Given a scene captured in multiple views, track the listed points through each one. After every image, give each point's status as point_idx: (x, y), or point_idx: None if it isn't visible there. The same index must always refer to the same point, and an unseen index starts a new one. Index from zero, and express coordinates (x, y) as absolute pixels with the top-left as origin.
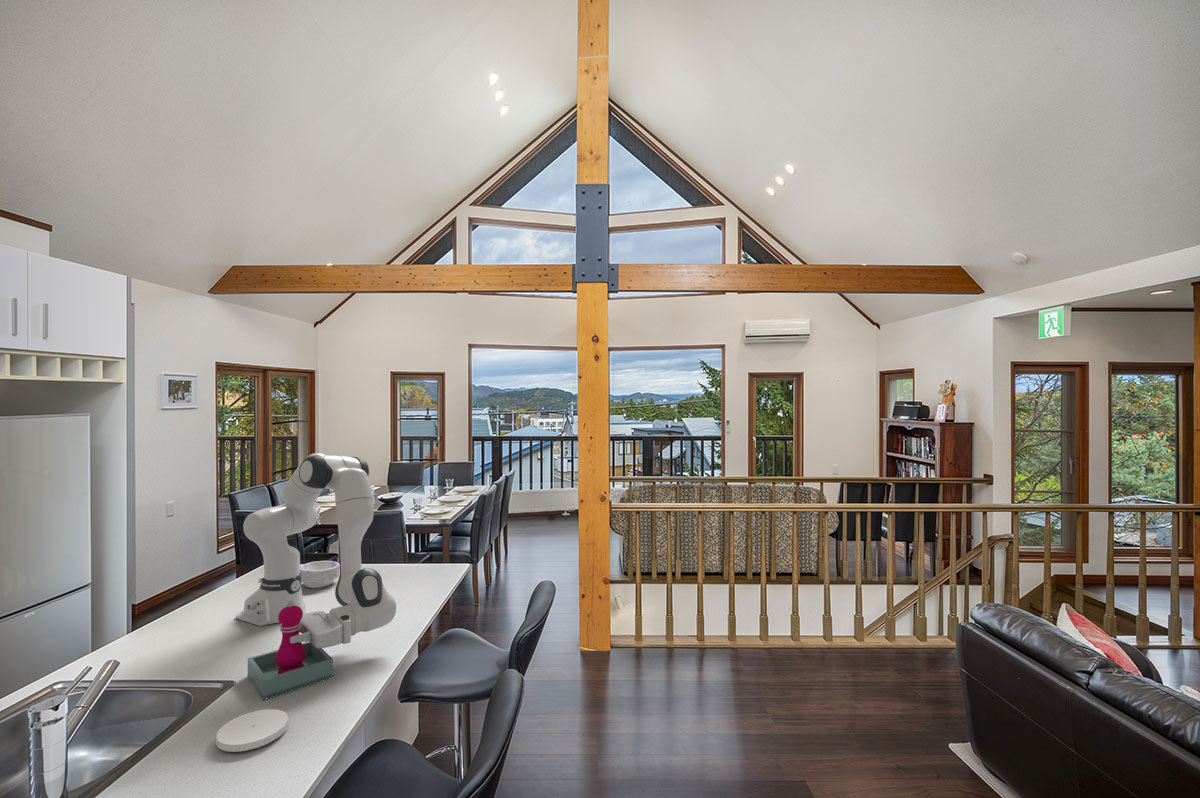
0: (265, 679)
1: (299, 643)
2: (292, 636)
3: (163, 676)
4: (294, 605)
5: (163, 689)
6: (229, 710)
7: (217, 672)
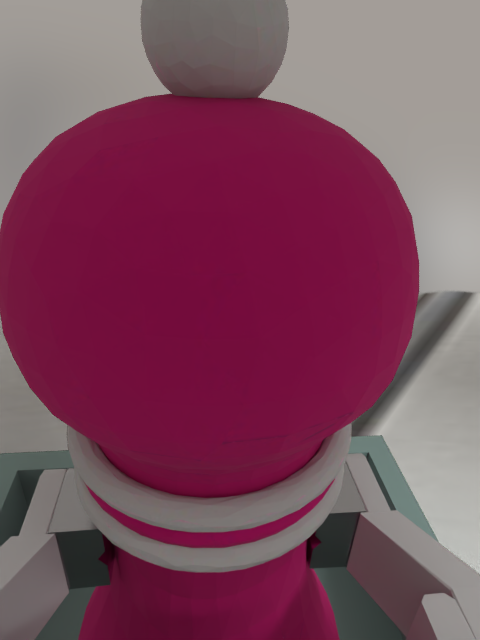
0: (1, 463)
1: None
2: (51, 478)
3: (469, 335)
4: (274, 119)
5: None
6: (66, 426)
7: (456, 426)
